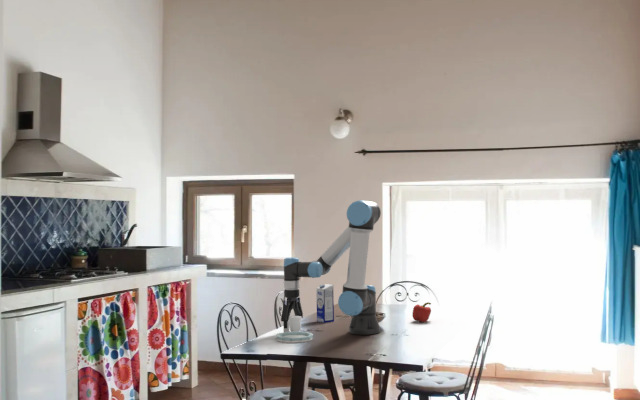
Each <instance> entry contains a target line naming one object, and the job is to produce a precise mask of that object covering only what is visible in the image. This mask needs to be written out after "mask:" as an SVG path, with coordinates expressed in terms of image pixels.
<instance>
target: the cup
mask: <svg viewBox="0 0 640 400" xmlns="http://www.w3.org/2000/svg"><path fill="white" fill-rule="evenodd" d="M302 318H303V317H302V316H296V315H291V316H289V320H288V321H289V332H297V331H299V332H301V330H300V326H301V327H302ZM282 326H283V327H284V325H283V324H282Z"/></svg>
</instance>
